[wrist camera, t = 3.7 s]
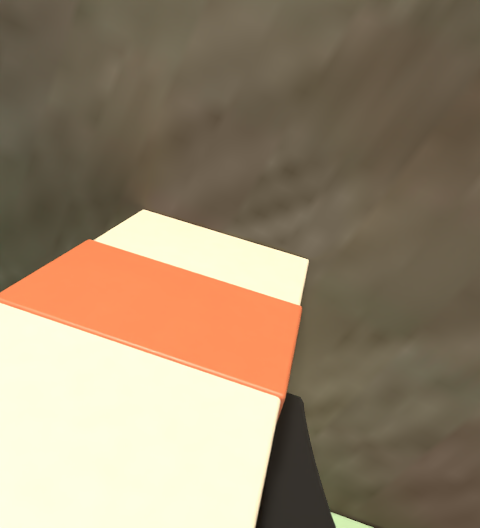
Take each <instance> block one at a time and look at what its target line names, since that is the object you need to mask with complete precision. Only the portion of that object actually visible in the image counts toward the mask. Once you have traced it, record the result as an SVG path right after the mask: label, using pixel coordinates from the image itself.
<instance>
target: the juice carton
mask: <svg viewBox="0 0 480 528" xmlns="http://www.w3.org/2000/svg"><path fill="white" fill-rule="evenodd" d="M308 264H309V260H307V259H305V258H301V257H298V256H295V255H292V254H288V253H285V252H282V251H278V250H275V249H272V248H269V247H265V246H262V245H259V244H255V243H252V242H249V241H246V240H242V239H239V238H236V237H232V236H229V235H226V234H222V233H219V232H216V231H213V230H209V229H206V228H203V227H199V226H196V225H193V224H190V223H186V222H183V221H180V220H176V219H173V218H170V217H167V216H163V215H160V214H157V213H153V212H150V211H147V210H142V211H140V212H138V213H137V214H135V215H133V216H132V217H130V218H129V219H127V220H125V221H124V222H122V223H121V224H119V225H117V226H116V227H114V228H112V229H111V230H109V231H108V232H106V233H104V234H103V235H101V236H100V237H98V238H96V239H95V240H86V241H85V242H83V243H81V244H80V245H78V246H76V247H75V248H73V249H72V250H70V251H68V252H67V253H65V254H63V255H62V256H60V257H58V258H57V259H55V260H53V261H52V262H50V263H48V264H47V265H45V266H43V267H42V268H40V269H38V270H37V271H35V272H33V273H32V274H30V275H28V276H27V277H25V278H23V279H22V280H20V281H18V282H17V283H15V284H13V285H12V286H10V287H8V288H7V289H5V290H3V291H2V292H0V528H256V523H257V518H258V513H259V508H260V503H261V498H262V493H263V488H264V483H265V478H266V473H267V468H268V463H269V458H270V453H271V448H272V443H273V438H274V433H275V428H276V424H277V421H278V418H279V415H280V413H281V410H282V407H283V404H284V401H285V398H286V393H287V388H288V383H289V378H290V372H291V367H292V362H293V356H294V351H295V346H296V340H297V335H298V330H299V324H300V319H301V314H302V307H301V306H300V304H301V299H302V294H303V289H304V284H305V279H306V274H307V269H308Z"/></svg>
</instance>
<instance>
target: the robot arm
mask: <svg viewBox="0 0 480 528" xmlns="http://www.w3.org/2000/svg"><path fill="white" fill-rule="evenodd" d="M256 528H336V526H335V523H334V520H333V518H332V515H331V512H330V509H329V506H328V503H327V500H326V497H325V494H324V491H323V487H322V484H321V480H320V477H319V473H318V470H317V466H316V463H315V459H314V455H313V451H312V447H311V443H310V438H309V434H308V429H307V424H306V418H305V412H304V403H303V401H302V399H301V398H300V397H298V396H295V395H292V394H289V393H286V398H285V401H284V404H283V407H282V410H281V413H280V415H279V418H278V421H277V424H276V428H275V433H274V438H273V443H272V448H271V453H270V458H269V463H268V468H267V473H266V478H265V483H264V488H263V493H262V498H261V503H260V508H259V513H258V518H257V523H256Z"/></svg>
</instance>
